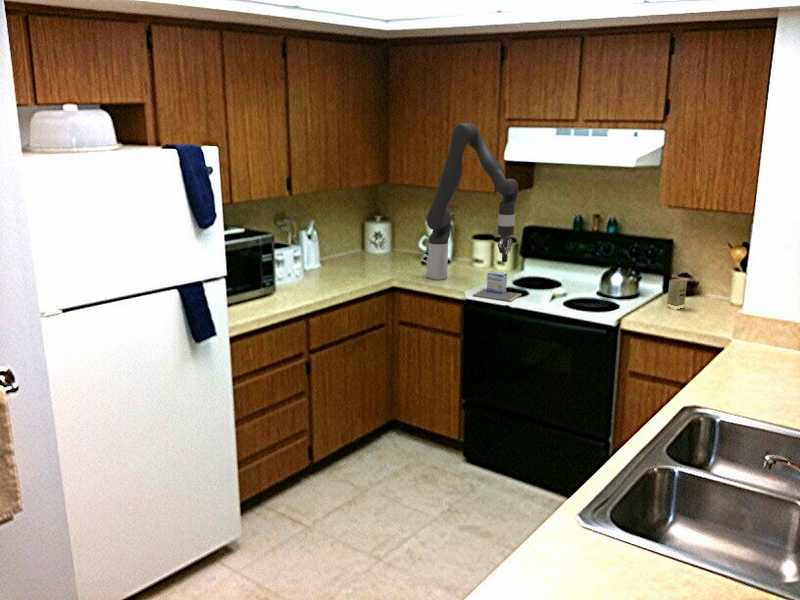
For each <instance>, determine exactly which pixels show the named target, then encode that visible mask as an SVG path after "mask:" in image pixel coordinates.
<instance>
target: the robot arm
mask: <svg viewBox="0 0 800 600" xmlns="http://www.w3.org/2000/svg"><path fill="white" fill-rule="evenodd" d="M467 144H468V145H469V146H470V147H471V148H472V149H473V150H474V152H475V153H476V156H477V157H478V160H479V163H480V165H481V167H482V169H483V170H484V172H485V173H486V174H487V175H488V177H489V178H490V179H491V182H492V184H493V187H494V189H495V191H496V192H497V193H498V194H500V195H501V196H502V199H501V200H500V202H499V205H498V217H497V235H498V236H500V238H499V243H497V247H498V251H499V253H500V254H501V262H502V263H507V262H508V259H509V258H508V257H509V255H508V254H509V253H510V251H511V248H512V246H513V242H514V239H512V236H514V235H515V223H516V222H515V221H516V218H515V210H516V209H515V208H516V207H515V206H516V202H517V197H518V195H519V184H518V182H517V180H516V179H514V178H506V176H505V169H504V167H503V166H502V164H501V163H500V162H499V161H498V160H497V158H496V157H495V156H494V154H493V153H492V152H491V149H489V147H488V145H487V143H486V141H485V139H484V138H483V136H482V135H481V132H480V131H479V129H478V127H477V126H476V125H475V124H474V123H472V122H460V123H458V124H457V125H455V126H454V128H453V130H452V133H451V139H450V144H449V148H448V153H447V156H446V158H445V161H444V166H443V168H442V172H441V175H440V177H439V182H438V186H437V188H436V190H435V191H436V192H435V195H434V198H433V201H432V203H431V206H430V208H429V210H428V213H427V216H426V225H427V227H428V228H429V229H430V230H432V232H431V234H430V235H429V236H428V256H427V258H426V274H425V275H426V278H428V279H431V280H437V281H440V280H446V279H447V278H448V264H449V263H448V260H449V259H448V257H449V240H450V239H449V238H450V235H451V227H452V226H451V224H452V219H451V218H452V217H451V213H450V212H449V211H448V209H447V207H448V205H449V203H450V201H451V200H452V198H453V197H454V195H455V193H456V192H457V190H458V188H459V186H460V184H461V180H462V176H463V173H464V172H463V170H464V168H463V155H464V152H465V151H466V150H465V149H466V147H467Z"/></svg>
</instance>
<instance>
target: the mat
mask: <svg viewBox="0 0 800 600" xmlns="http://www.w3.org/2000/svg"><path fill="white" fill-rule="evenodd" d="M521 296H522V293H518V292H511V291H506V292H505V293H503V294H501V293H494V292H487V287H485V288H481V289H480V290H478V291H477V292H474V293H472V297H474V298H483V299H489V300H493V301H494V300H496V301H501V302H508V303H512V302H513V301H515V300H516V299H518V298H520V297H521Z"/></svg>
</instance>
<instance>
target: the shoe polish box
mask: <svg viewBox="0 0 800 600" xmlns="http://www.w3.org/2000/svg"><path fill="white" fill-rule="evenodd" d="M687 285H688V280H686V279H680V278H674V279H673V278H672V279H669V283H668V290H667V291H668V292H667V293H668V294H667V301H666V305H667V304H671V305H674V306H679V305H683V304H684V305H685V304H686V303H685V302H686V293H687Z"/></svg>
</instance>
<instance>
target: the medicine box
mask: <svg viewBox="0 0 800 600" xmlns="http://www.w3.org/2000/svg"><path fill="white" fill-rule="evenodd" d="M507 278H508V274H507V273H506V272H505V273H504V272H500V271H499V272H498V271H489V272H487V277H486V289H487V292H494V293H501V294H503V293H505V292H507V282H508V279H507Z"/></svg>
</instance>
